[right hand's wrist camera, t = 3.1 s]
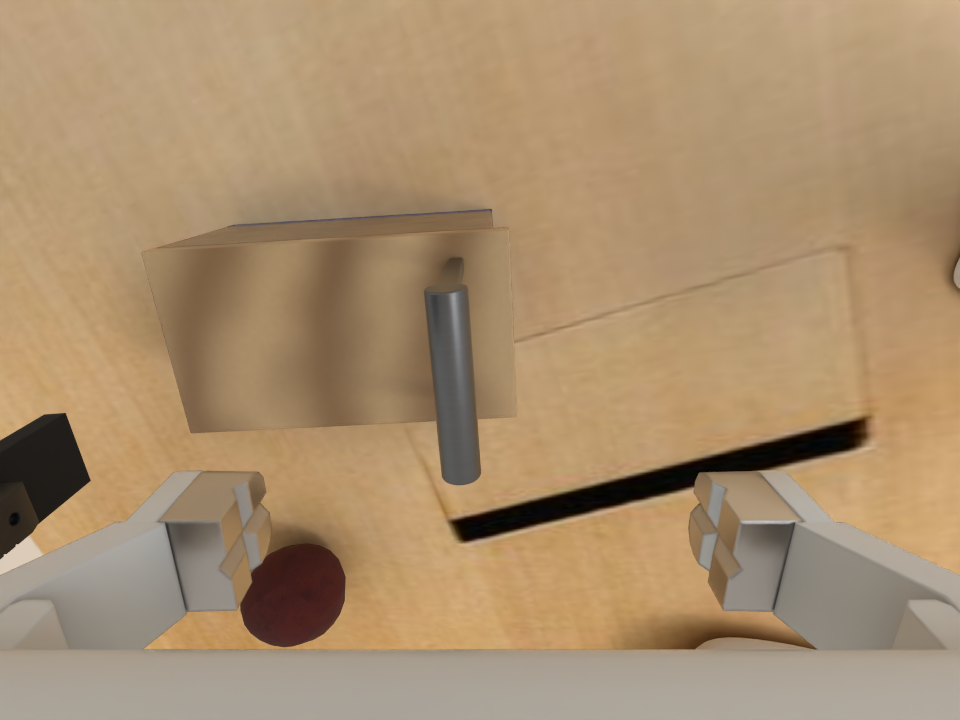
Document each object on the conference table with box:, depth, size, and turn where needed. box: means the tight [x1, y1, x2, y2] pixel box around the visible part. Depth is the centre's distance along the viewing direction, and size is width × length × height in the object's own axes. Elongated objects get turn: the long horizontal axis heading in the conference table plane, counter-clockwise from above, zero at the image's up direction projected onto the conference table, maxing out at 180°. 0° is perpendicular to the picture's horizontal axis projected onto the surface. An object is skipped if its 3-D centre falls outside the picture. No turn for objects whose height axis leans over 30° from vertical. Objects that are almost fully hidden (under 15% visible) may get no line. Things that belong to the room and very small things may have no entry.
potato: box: [240, 544, 345, 647], centre depth 42 cm, size 7×8×7 cm
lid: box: [142, 227, 517, 485], centre depth 25 cm, size 18×10×9 cm, turn 93°
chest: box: [158, 209, 493, 248], centre depth 33 cm, size 17×10×9 cm, turn 93°
